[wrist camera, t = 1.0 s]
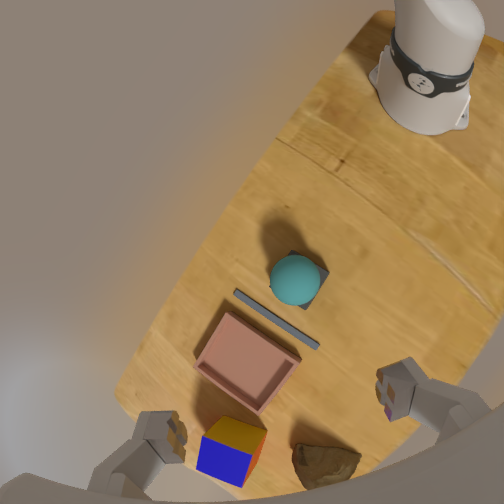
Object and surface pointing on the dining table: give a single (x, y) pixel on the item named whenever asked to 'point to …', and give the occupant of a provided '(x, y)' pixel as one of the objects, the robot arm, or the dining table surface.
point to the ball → (295, 280)
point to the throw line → (276, 320)
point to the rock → (323, 465)
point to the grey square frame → (323, 277)
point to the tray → (246, 363)
